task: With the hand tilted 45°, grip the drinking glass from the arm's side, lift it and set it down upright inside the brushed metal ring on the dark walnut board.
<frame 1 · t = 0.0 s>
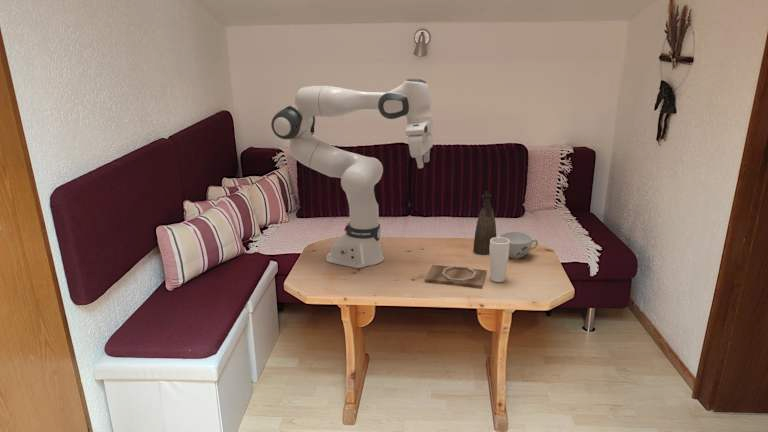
hand: (423, 164, 194), 39 cm above the table, tool pointing down, fingers open, 8 cm apart
statue: (484, 252, 218), on the table
walnut board: (456, 277, 195), on the table
drinking glass: (497, 280, 193), on the table
teacup: (518, 256, 213), on the table
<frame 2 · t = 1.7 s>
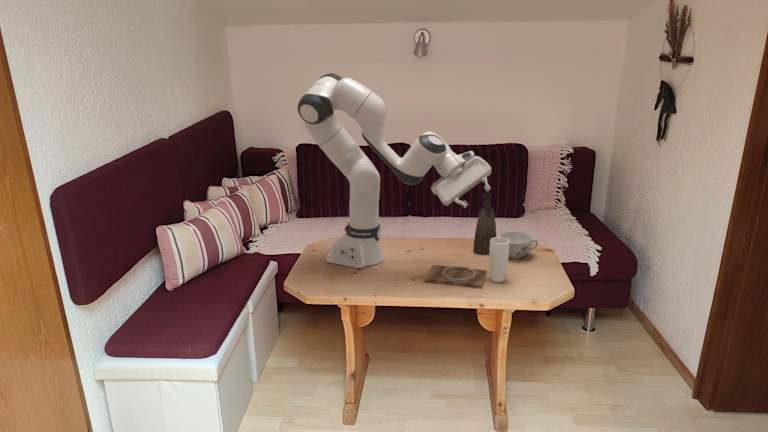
hand: (477, 197, 182), 31 cm above the table, tool tilted 55°, fingers open, 8 cm apart
nothing on the table moved.
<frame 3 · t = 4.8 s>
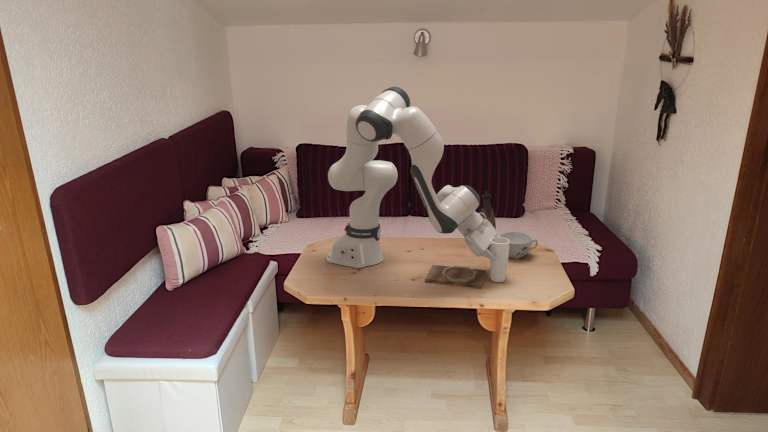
hand: (497, 255, 189), 10 cm above the table, tool tilted 45°, fingers open, 8 cm apart
nothing on the table moved.
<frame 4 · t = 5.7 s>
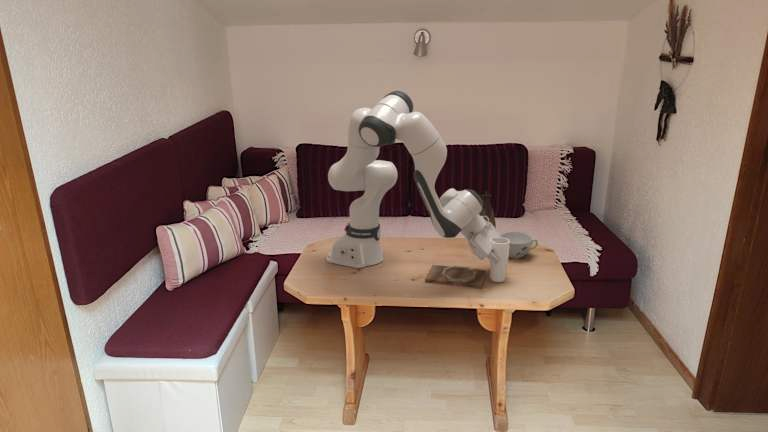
hand: (500, 258, 190), 8 cm above the table, tool tilted 45°, fingers closed on drinking glass, 6 cm apart
drinking glass: (497, 280, 193), on the table, touching gripper
everything else where it was.
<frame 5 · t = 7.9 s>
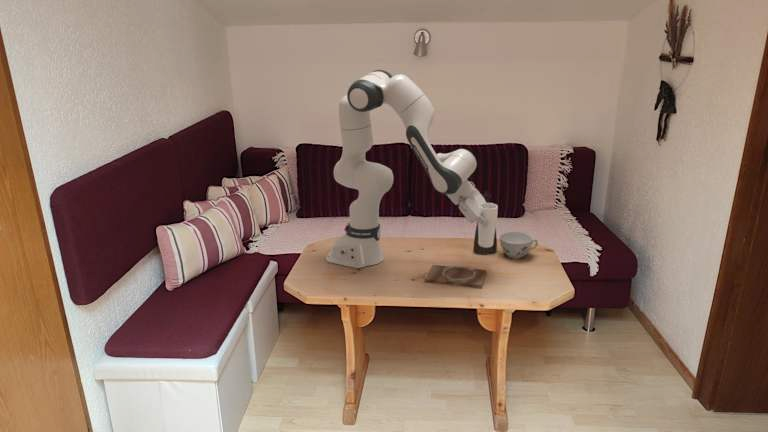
hand: (488, 222, 191), 20 cm above the table, tool tilted 45°, fingers closed on drinking glass, 7 cm apart
drinking glass: (485, 245, 195), point 11 cm above the table, touching gripper
everything else where it was.
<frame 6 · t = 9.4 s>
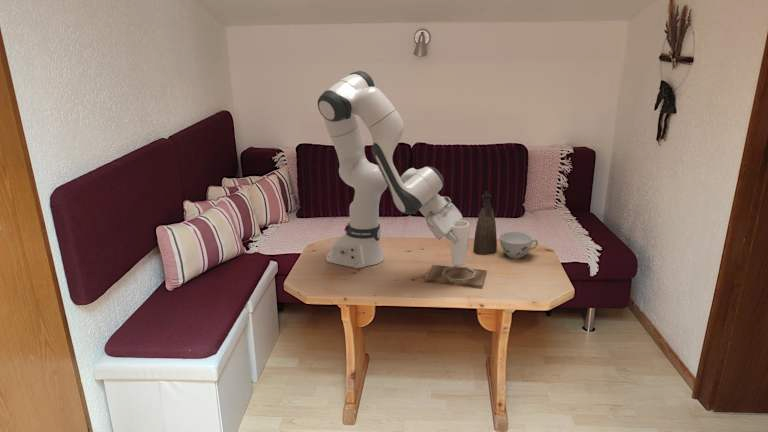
hand: (460, 238, 189), 15 cm above the table, tool tilted 45°, fingers closed on drinking glass, 7 cm apart
drinking glass: (458, 263, 192), point 6 cm above the table, touching gripper
everything else where it was.
when the fingers open (11 cm above the table, at t = 10.9 s): drinking glass stays where it is, resting on walnut board.
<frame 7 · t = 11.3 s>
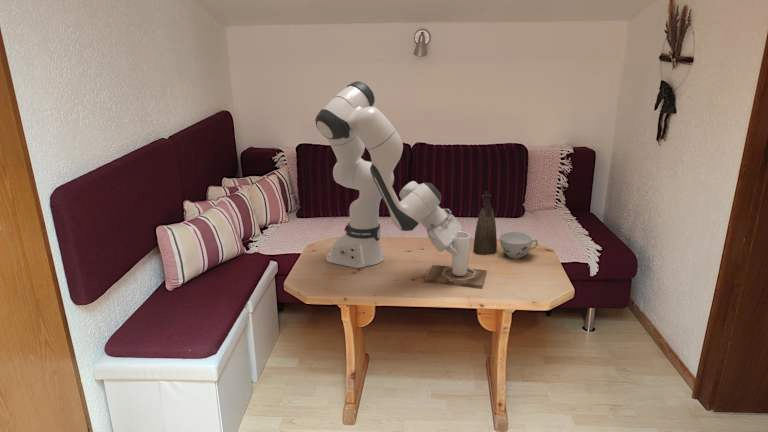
hand: (461, 250, 191), 11 cm above the table, tool tilted 45°, fingers open, 8 cm apart
drinking glass: (459, 273, 195), point 1 cm above the table, touching gripper, walnut board
everything else where it was.
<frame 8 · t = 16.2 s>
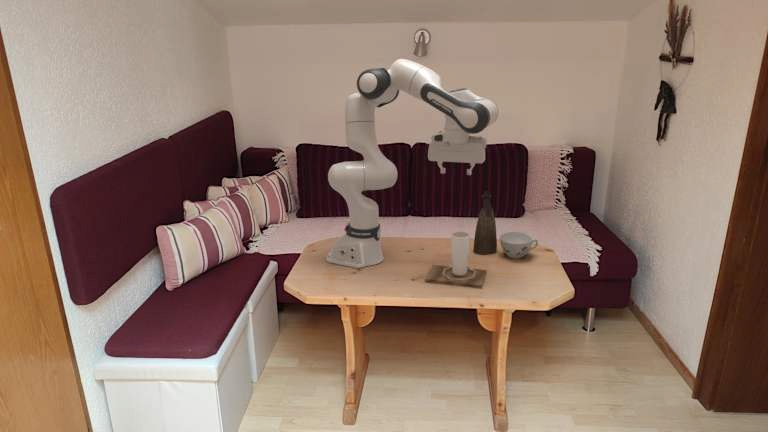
hand: (455, 174, 196), 35 cm above the table, tool pointing down, fingers open, 8 cm apart
drinking glass: (459, 273, 195), point 1 cm above the table, touching walnut board
everything else where it was.
at the end: drinking glass 1.2 cm off-centre on the walnut board, point 1.0 cm above the walnut board's base; drinking glass tilted 0°; the gripper is holding nothing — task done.
